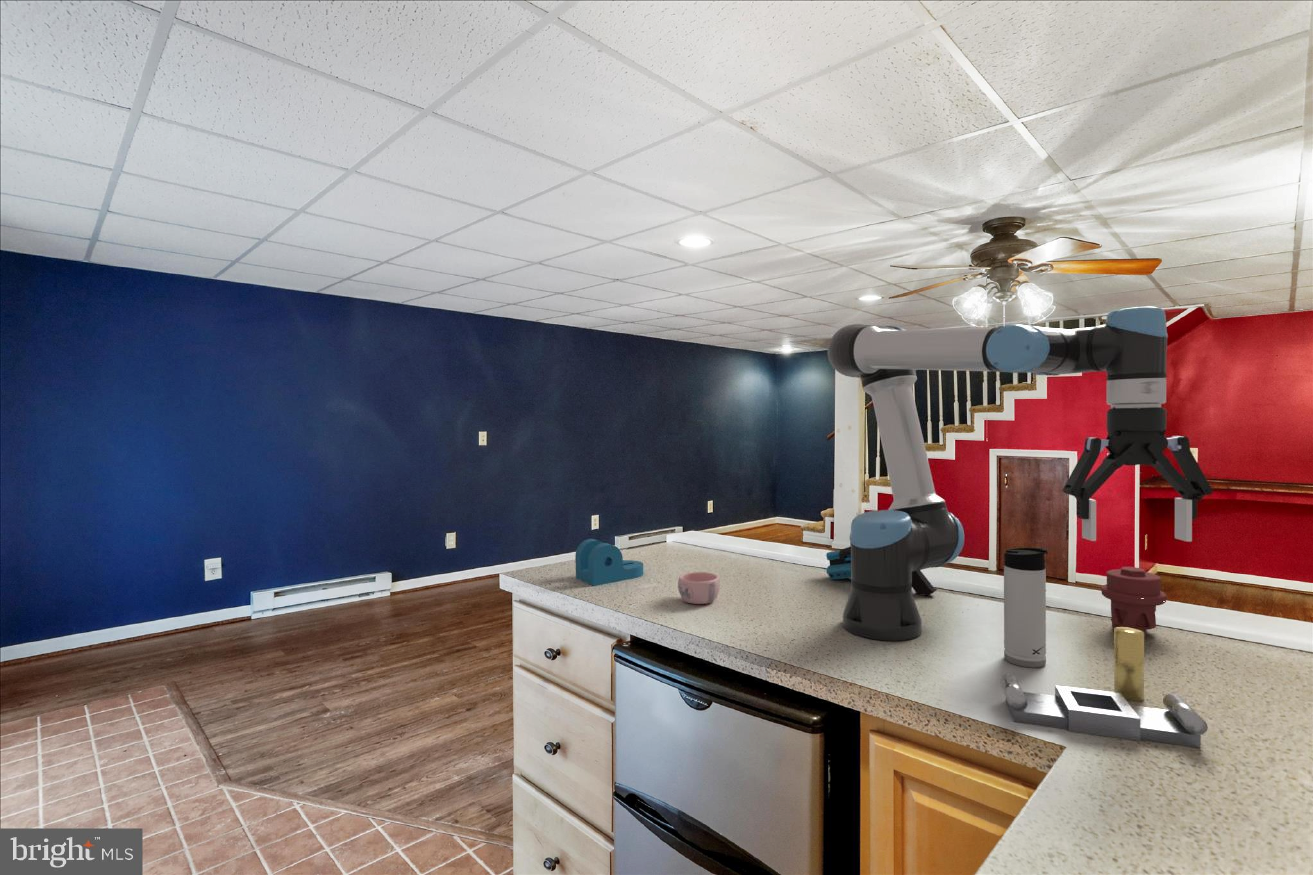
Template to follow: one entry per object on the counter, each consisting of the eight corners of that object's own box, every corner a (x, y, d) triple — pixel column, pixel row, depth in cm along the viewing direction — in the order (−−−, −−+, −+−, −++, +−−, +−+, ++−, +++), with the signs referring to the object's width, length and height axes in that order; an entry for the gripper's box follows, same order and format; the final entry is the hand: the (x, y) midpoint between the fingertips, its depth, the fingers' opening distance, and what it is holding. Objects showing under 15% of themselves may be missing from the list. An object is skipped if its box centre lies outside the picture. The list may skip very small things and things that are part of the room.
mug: (728, 601, 146) (728, 576, 146) (698, 610, 140) (698, 584, 140) (693, 591, 156) (693, 568, 155) (664, 599, 149) (663, 575, 149)
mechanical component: (1147, 624, 125) (1178, 641, 115) (1091, 621, 127) (1117, 639, 117) (1147, 563, 124) (1178, 576, 114) (1091, 562, 126) (1117, 574, 116)
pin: (1118, 699, 93) (1118, 633, 92) (1110, 689, 96) (1110, 625, 96) (1147, 702, 91) (1147, 636, 91) (1139, 692, 95) (1139, 628, 95)
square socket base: (1008, 722, 87) (1008, 694, 86) (1000, 697, 94) (999, 672, 94) (1209, 750, 78) (1209, 720, 78) (1182, 721, 86) (1182, 693, 86)
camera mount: (593, 586, 162) (592, 547, 162) (575, 578, 171) (574, 541, 171) (650, 575, 172) (649, 538, 172) (631, 568, 181) (630, 533, 181)
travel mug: (1048, 671, 103) (1048, 553, 103) (1003, 663, 107) (1002, 549, 106) (1048, 658, 108) (1047, 545, 108) (1005, 651, 112) (1004, 542, 111)
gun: (848, 598, 167) (834, 543, 170) (943, 590, 149) (925, 528, 151) (832, 604, 162) (818, 548, 165) (928, 597, 143) (911, 533, 146)
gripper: (1062, 408, 96) (1062, 543, 97) (1243, 404, 92) (1242, 545, 93) (1039, 408, 103) (1040, 534, 104) (1206, 405, 100) (1206, 535, 100)
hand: (1135, 539), depth 98 cm, fingers open, 13 cm apart
